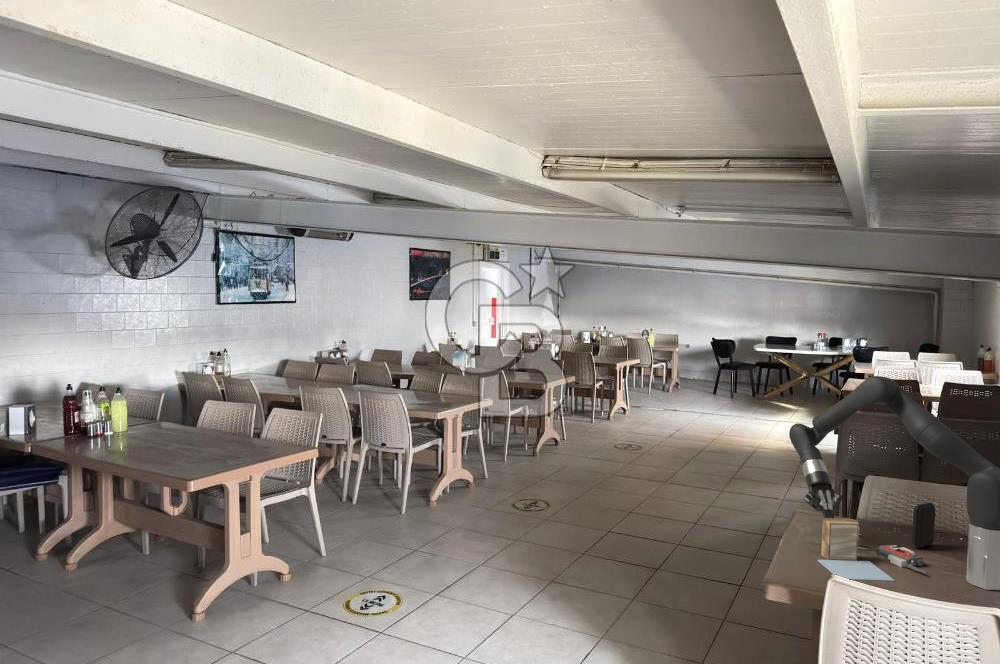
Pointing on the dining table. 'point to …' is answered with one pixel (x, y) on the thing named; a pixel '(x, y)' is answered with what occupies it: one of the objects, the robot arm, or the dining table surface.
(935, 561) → the dining table surface
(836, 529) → the wood grain block
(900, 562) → the walkie-talkie
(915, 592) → the dining table surface
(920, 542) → the carrying case or bag
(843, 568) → the mat
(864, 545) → the dining table surface
